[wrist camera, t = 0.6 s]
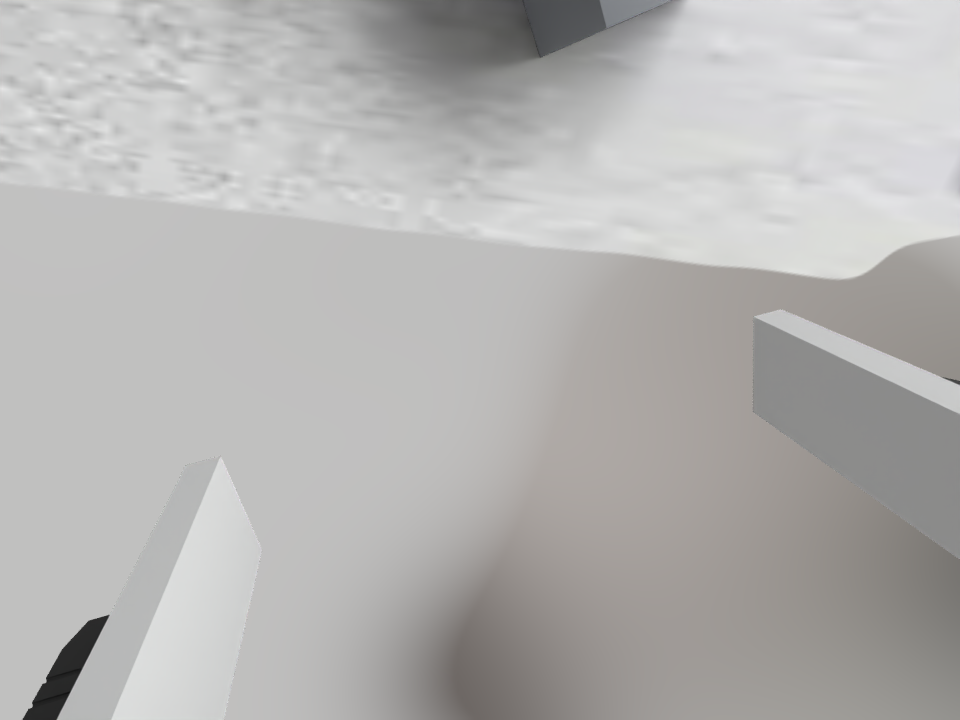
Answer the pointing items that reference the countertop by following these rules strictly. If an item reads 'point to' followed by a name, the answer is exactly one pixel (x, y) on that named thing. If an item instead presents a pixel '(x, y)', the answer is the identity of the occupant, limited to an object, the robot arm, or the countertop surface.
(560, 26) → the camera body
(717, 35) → the countertop surface
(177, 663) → the robot arm
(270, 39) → the countertop surface
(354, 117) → the countertop surface
